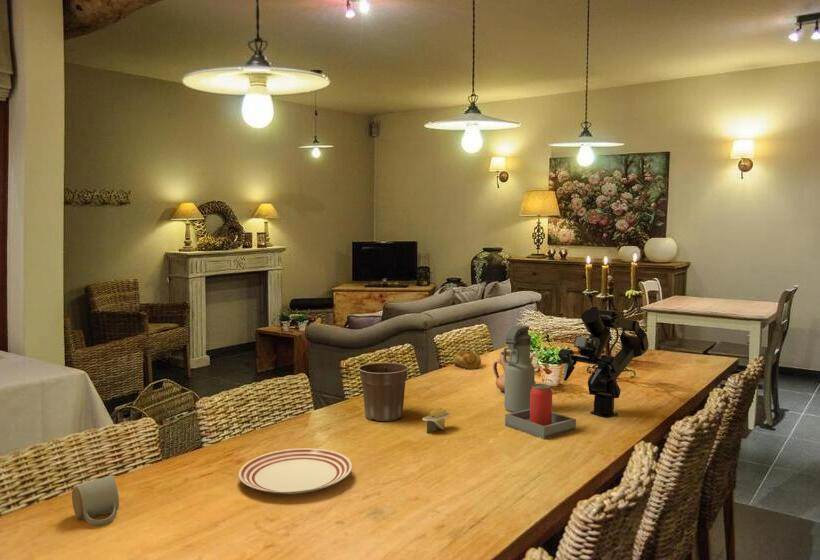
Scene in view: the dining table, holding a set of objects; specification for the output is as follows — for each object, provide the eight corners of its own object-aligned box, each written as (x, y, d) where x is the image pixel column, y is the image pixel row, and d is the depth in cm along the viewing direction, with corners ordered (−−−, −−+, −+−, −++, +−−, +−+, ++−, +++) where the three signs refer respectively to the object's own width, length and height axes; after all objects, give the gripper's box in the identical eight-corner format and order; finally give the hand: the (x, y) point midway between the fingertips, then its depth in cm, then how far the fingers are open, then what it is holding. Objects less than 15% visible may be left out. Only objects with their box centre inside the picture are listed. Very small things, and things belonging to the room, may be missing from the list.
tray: (536, 417, 221) (536, 407, 220) (575, 430, 208) (576, 419, 207) (505, 425, 212) (505, 414, 212) (543, 439, 199) (544, 427, 199)
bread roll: (448, 366, 296) (448, 347, 295) (464, 363, 302) (464, 345, 301) (469, 371, 286) (469, 352, 285) (485, 368, 292) (485, 349, 291)
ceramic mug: (70, 513, 149) (69, 479, 148) (110, 503, 154) (109, 470, 153) (83, 532, 141) (82, 496, 140) (125, 520, 146) (124, 486, 145)
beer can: (544, 429, 205) (545, 389, 204) (525, 424, 210) (526, 386, 209) (555, 424, 210) (556, 386, 209) (537, 420, 215) (538, 382, 214)
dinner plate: (301, 513, 150) (301, 498, 150) (214, 486, 165) (214, 472, 164) (374, 473, 173) (374, 460, 173) (291, 453, 188) (291, 441, 187)
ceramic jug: (545, 391, 254) (546, 353, 252) (526, 399, 242) (526, 360, 241) (503, 383, 265) (504, 347, 264) (483, 391, 254) (483, 353, 252)
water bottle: (520, 415, 223) (521, 330, 220) (497, 409, 230) (498, 326, 227) (539, 409, 229) (541, 327, 227) (517, 403, 237) (518, 323, 234)
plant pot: (351, 412, 226) (351, 364, 224) (397, 407, 232) (397, 360, 231) (368, 426, 211) (368, 374, 209) (416, 420, 217) (416, 370, 216)
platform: (470, 428, 210) (471, 408, 210) (434, 443, 197) (434, 421, 196) (439, 421, 218) (440, 401, 217) (402, 435, 204) (402, 413, 204)
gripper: (561, 323, 219) (541, 362, 213) (616, 330, 207) (596, 372, 200) (573, 344, 226) (554, 383, 219) (627, 352, 213) (608, 394, 206)
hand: (577, 382), depth 211 cm, fingers open, 9 cm apart
